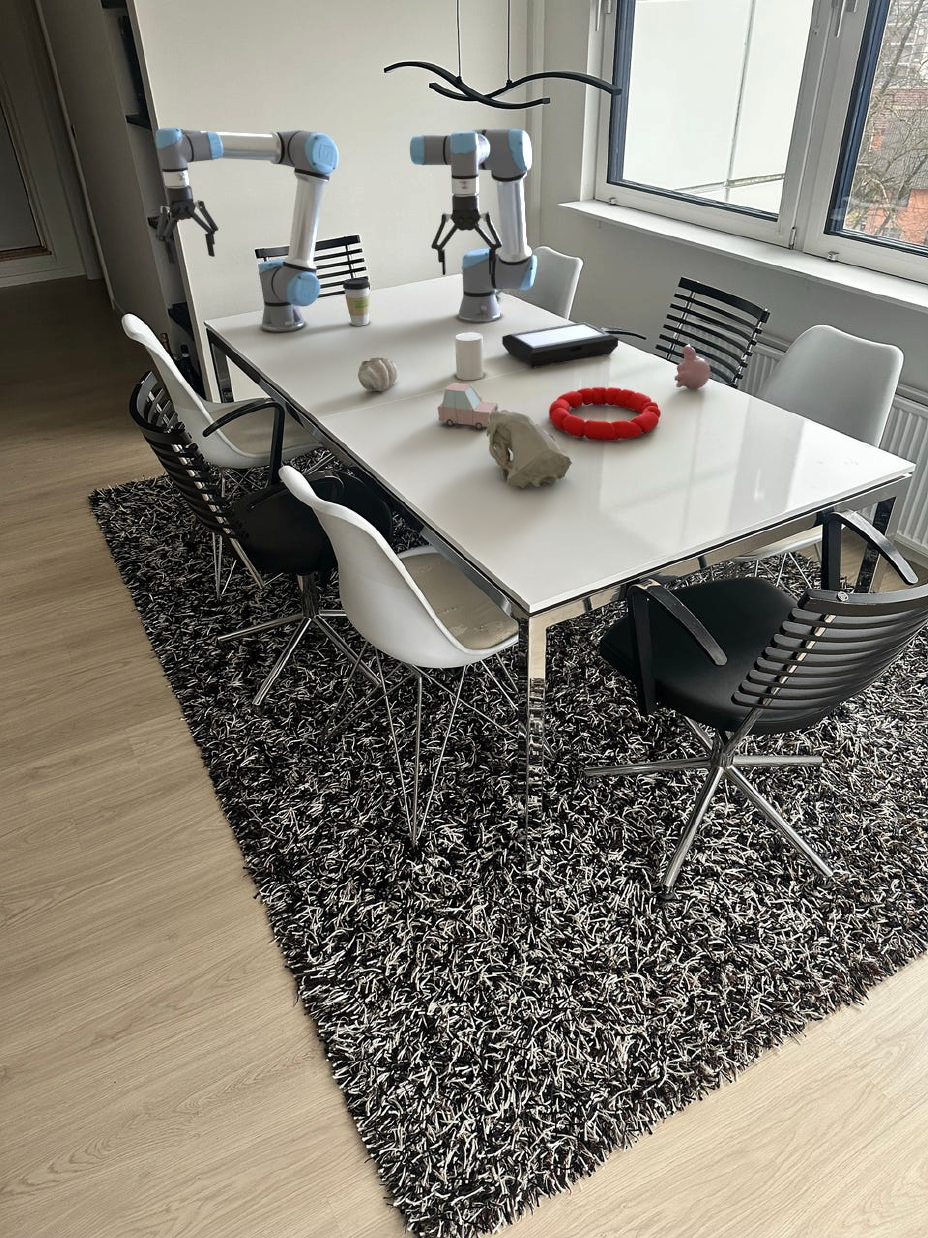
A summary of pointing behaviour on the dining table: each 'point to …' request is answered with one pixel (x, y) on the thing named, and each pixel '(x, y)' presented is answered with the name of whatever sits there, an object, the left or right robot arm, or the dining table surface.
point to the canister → (469, 356)
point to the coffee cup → (357, 300)
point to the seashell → (377, 374)
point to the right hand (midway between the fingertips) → (467, 273)
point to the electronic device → (559, 344)
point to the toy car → (465, 406)
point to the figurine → (692, 370)
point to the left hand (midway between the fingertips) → (192, 259)
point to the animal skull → (525, 450)
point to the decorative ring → (604, 428)
